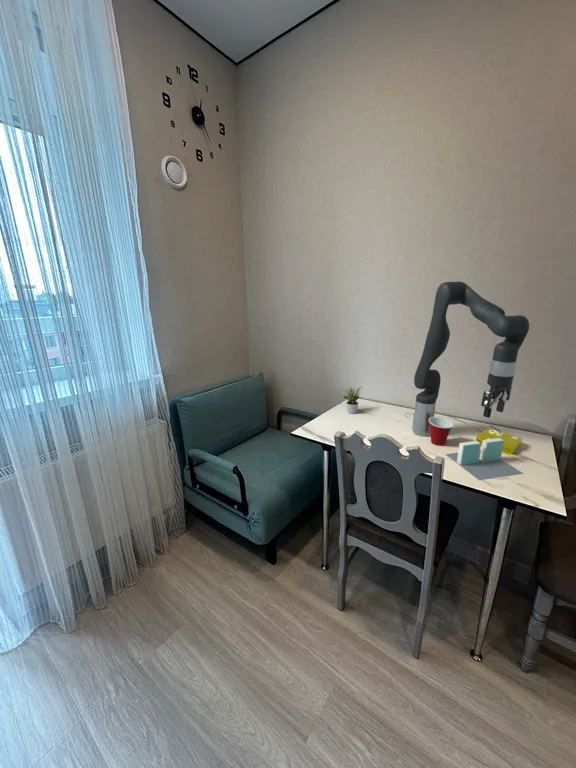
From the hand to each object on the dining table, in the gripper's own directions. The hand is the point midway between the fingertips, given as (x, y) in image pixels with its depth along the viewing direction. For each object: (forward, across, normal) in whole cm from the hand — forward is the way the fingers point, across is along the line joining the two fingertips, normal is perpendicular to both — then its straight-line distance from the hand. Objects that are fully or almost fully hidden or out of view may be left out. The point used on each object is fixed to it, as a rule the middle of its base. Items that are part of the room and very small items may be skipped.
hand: (493, 414), depth 118 cm
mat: (+27, -7, -4) cm, 28 cm away
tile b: (+26, -13, -4) cm, 29 cm away
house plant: (+29, -1, -78) cm, 83 cm away
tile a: (+26, -3, -8) cm, 27 cm away
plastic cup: (+28, -8, -25) cm, 38 cm away
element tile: (+28, -30, -9) cm, 42 cm away
